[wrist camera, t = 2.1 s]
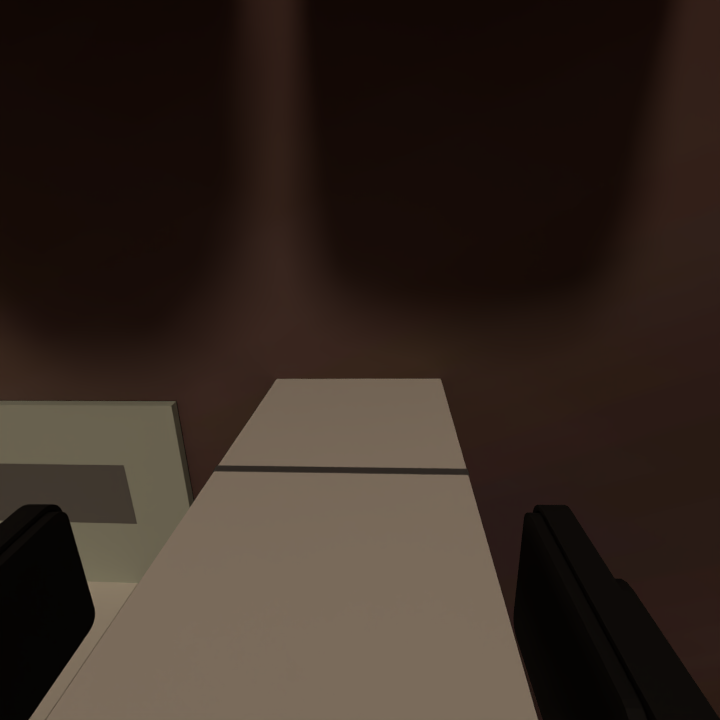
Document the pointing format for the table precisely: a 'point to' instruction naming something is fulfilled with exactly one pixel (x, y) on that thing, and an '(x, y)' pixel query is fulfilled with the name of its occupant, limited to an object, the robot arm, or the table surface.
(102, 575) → the domino mat
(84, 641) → the domino
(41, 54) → the table surface
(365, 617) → the domino
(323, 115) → the table surface
